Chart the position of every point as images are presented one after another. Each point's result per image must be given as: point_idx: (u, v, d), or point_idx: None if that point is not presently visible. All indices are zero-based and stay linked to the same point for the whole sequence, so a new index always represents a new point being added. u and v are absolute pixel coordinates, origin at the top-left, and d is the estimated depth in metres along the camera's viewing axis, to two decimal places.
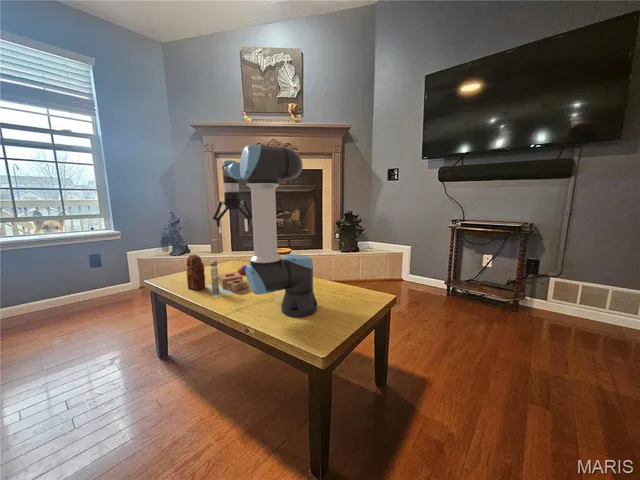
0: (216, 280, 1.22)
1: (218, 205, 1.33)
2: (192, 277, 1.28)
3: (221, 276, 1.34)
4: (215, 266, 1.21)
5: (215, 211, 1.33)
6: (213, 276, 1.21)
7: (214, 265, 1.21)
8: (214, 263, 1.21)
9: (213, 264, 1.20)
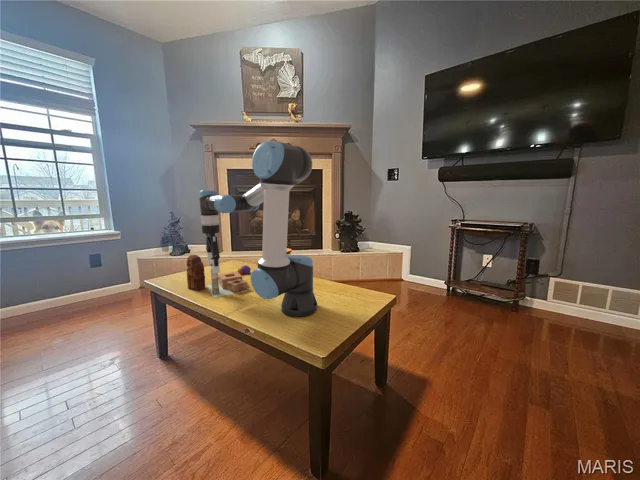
0: (216, 280, 1.22)
1: None
2: (192, 277, 1.28)
3: (221, 276, 1.34)
4: None
5: None
6: (213, 276, 1.21)
7: None
8: None
9: None
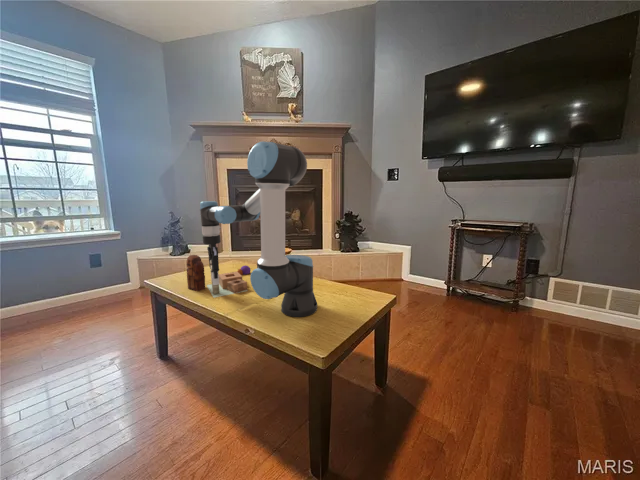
0: None
1: None
2: (192, 277, 1.28)
3: (221, 276, 1.34)
4: None
5: None
6: None
7: None
8: None
9: None
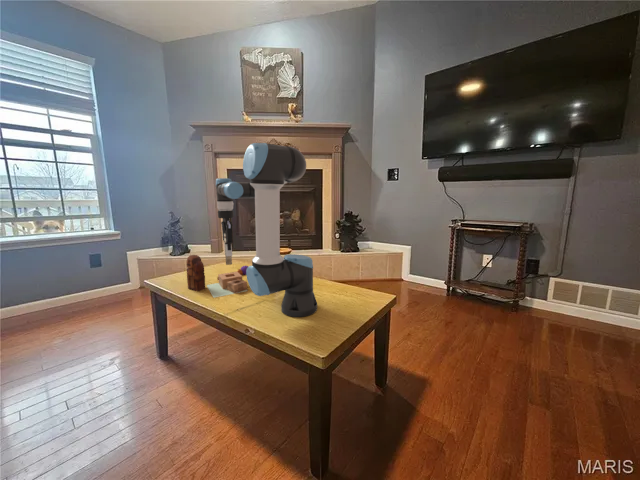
0: None
1: None
2: (192, 277, 1.28)
3: (221, 276, 1.34)
4: None
5: None
6: None
7: None
8: None
9: None
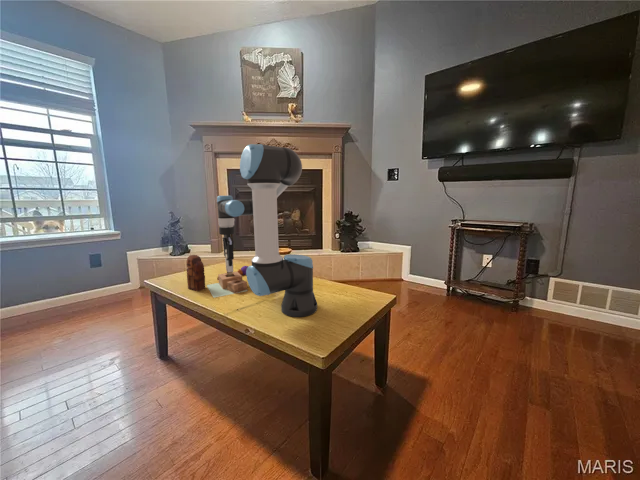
0: None
1: None
2: (192, 277, 1.28)
3: (221, 276, 1.34)
4: None
5: None
6: None
7: None
8: None
9: None
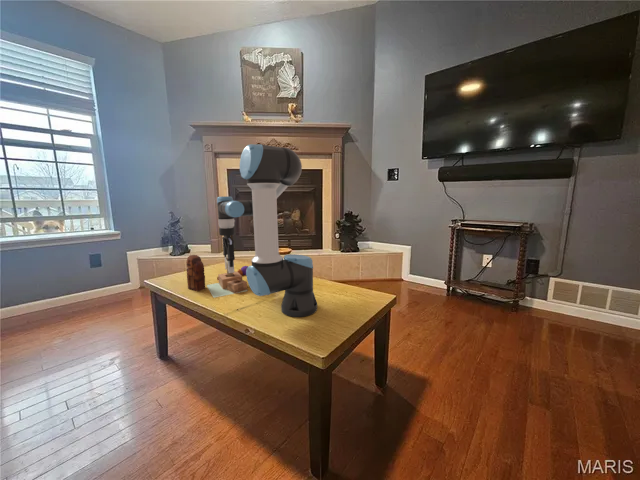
0: None
1: None
2: (192, 277, 1.28)
3: (221, 276, 1.34)
4: None
5: None
6: None
7: None
8: None
9: None
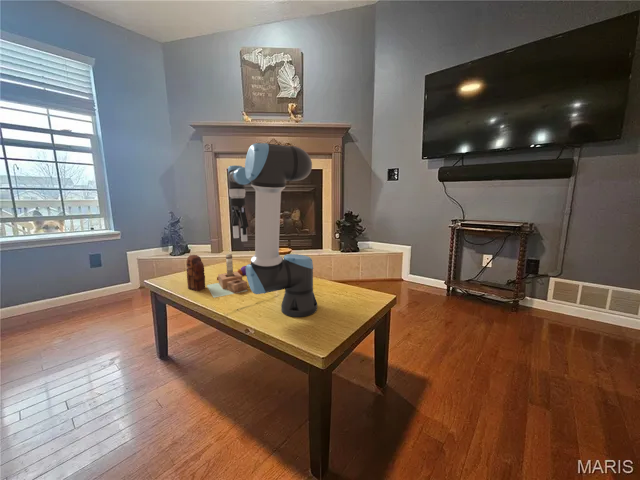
0: (231, 272, 1.35)
1: None
2: (192, 277, 1.28)
3: (221, 276, 1.34)
4: (230, 259, 1.34)
5: None
6: (228, 268, 1.34)
7: (230, 258, 1.34)
8: (230, 256, 1.34)
9: (229, 257, 1.33)
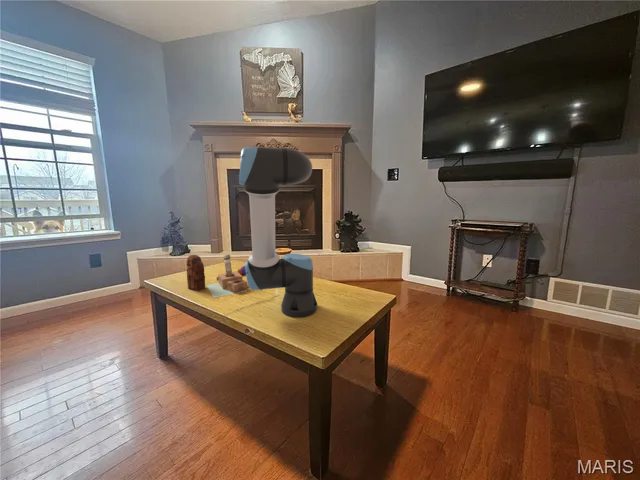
0: (230, 272, 1.34)
1: None
2: (192, 277, 1.28)
3: (221, 276, 1.34)
4: (228, 259, 1.33)
5: None
6: (227, 269, 1.33)
7: (227, 259, 1.32)
8: (227, 257, 1.32)
9: (227, 258, 1.32)
